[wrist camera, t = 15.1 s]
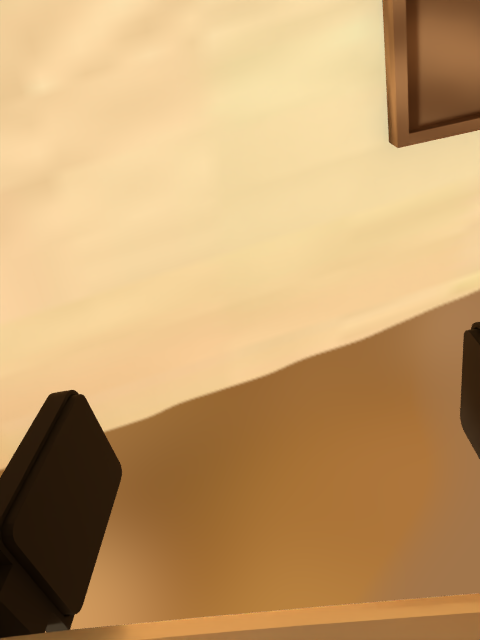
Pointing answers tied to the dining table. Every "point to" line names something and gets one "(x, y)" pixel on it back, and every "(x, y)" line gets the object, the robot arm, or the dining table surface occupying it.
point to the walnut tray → (431, 69)
